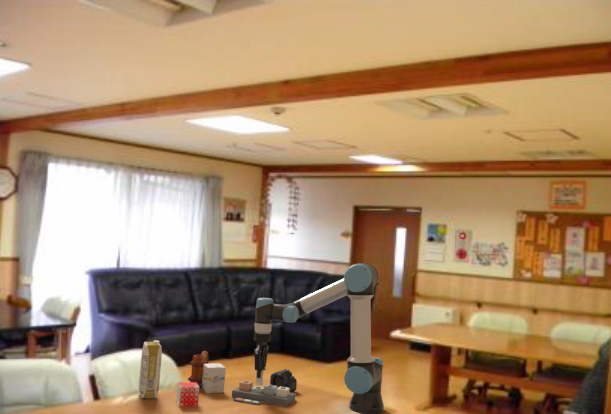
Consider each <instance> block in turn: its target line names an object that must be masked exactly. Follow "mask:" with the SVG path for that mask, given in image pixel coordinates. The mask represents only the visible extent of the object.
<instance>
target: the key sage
mask: <svg viewBox="0 0 611 414" xmlns="http://www.w3.org/2000/svg"><path fill="white" fill-rule="evenodd" d="M251 392H257V393H262V392H264V386H263V387H262V386H259V385H255V386H254V387H253V388H251Z"/></svg>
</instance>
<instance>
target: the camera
mask: <svg viewBox="0 0 611 414" xmlns="http://www.w3.org/2000/svg"><path fill="white" fill-rule="evenodd" d="M269 379H270V380H269V385H275V386H277V388H279V387H280V386H281V387H287V388H290V393H293V392H295V391H296V390H297V386H298V385H297V384H298V380H297V378H296V377H295V376H294V375H293V372H291V371H290V369H287V368H284V369H282V370H278V371H275V372H273V373H271V374H270V378H269Z"/></svg>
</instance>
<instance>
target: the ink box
mask: <svg viewBox="0 0 611 414" xmlns="http://www.w3.org/2000/svg"><path fill="white" fill-rule="evenodd" d="M225 380H226V366H224V365H223V364H222V363H217V362H215V363H214V362H213V363H208V364H204V367H203V379H202V386H201V389H202V390H203V391H204V392H205V393H206V394H215V393H216V394H221V393H224V391H225Z"/></svg>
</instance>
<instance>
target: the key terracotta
mask: <svg viewBox="0 0 611 414" xmlns="http://www.w3.org/2000/svg"><path fill="white" fill-rule="evenodd" d="M253 383H254V382H253V381H249V380H241V381H240V382H239V383H238V384H239V386H238V387H239V390H245V391H250V390H251V388H252V386H253Z"/></svg>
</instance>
